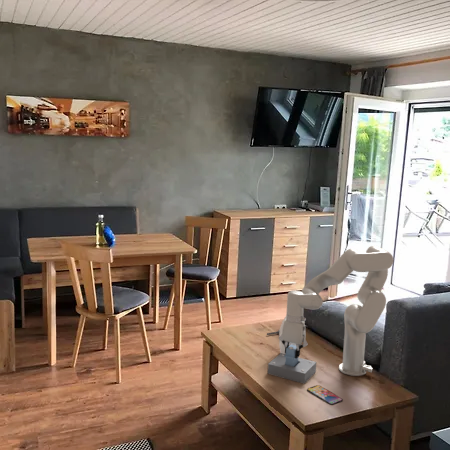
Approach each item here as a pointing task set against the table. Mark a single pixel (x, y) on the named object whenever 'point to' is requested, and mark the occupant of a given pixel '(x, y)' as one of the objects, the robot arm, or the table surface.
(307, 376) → the plate
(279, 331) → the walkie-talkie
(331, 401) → the smartphone
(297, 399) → the table surface
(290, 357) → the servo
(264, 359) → the table surface
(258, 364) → the table surface
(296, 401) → the table surface
